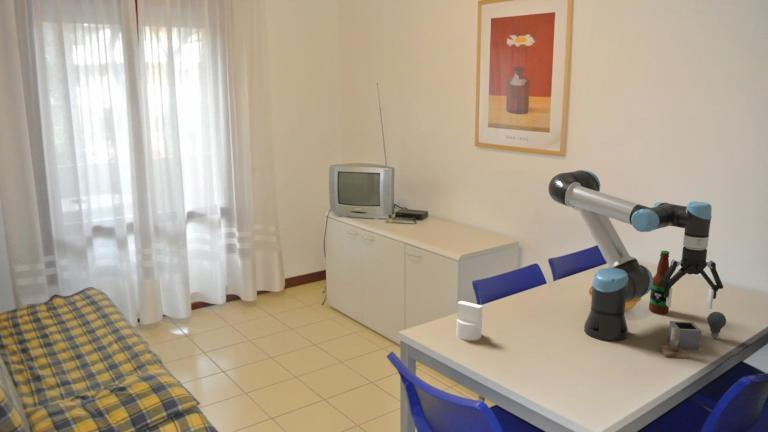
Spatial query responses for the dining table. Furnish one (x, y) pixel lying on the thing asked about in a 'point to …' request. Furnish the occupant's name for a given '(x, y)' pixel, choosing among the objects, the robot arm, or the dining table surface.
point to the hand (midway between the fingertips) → (688, 306)
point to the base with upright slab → (469, 321)
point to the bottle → (659, 287)
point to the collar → (687, 334)
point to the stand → (673, 346)
